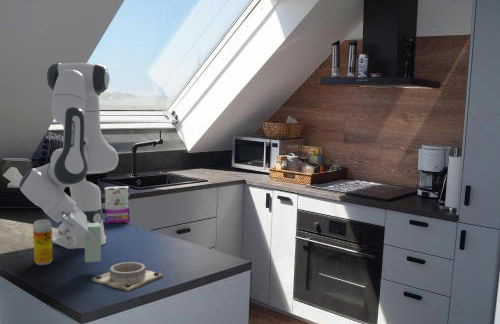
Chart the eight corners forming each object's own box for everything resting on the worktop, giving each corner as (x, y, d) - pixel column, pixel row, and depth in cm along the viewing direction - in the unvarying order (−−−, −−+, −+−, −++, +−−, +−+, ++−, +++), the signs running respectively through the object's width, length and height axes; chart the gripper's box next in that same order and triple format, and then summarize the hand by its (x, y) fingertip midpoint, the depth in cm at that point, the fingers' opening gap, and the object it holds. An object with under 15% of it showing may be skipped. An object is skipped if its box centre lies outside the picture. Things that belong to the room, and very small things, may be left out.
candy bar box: (129, 220, 255) (129, 185, 253) (129, 222, 250) (129, 187, 248) (105, 221, 253) (104, 186, 250) (104, 223, 248) (104, 188, 246)
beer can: (42, 266, 188) (41, 224, 186) (30, 263, 191) (29, 221, 189) (56, 261, 193) (55, 220, 191) (44, 259, 196) (43, 218, 194)
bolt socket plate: (91, 280, 175) (91, 269, 174) (127, 267, 188) (127, 256, 188) (128, 291, 166) (127, 279, 166) (163, 276, 180) (162, 265, 179)
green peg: (85, 262, 179) (84, 227, 178) (84, 257, 184) (84, 223, 182) (100, 261, 181) (100, 226, 179) (100, 256, 186) (99, 222, 184)
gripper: (69, 209, 168) (102, 238, 172) (70, 196, 187) (99, 222, 191) (54, 224, 167) (88, 252, 171) (56, 209, 186) (86, 235, 191)
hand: (94, 236), depth 182 cm, fingers closed on green peg, 5 cm apart
